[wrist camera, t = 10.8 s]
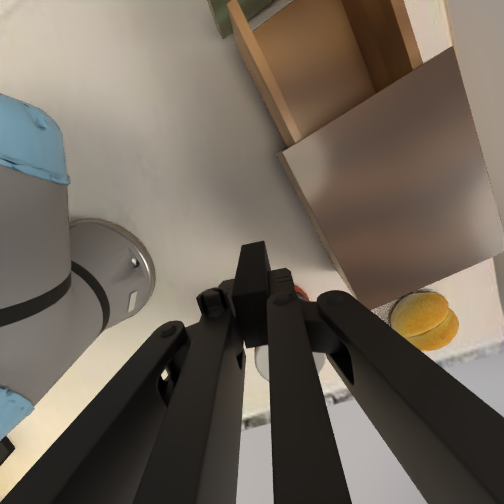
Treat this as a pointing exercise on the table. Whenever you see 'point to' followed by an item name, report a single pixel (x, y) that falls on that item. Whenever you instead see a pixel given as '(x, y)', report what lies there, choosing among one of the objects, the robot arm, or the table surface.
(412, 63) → the drawer
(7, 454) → the digital camera
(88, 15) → the table surface
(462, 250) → the cabinet
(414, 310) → the bread roll
